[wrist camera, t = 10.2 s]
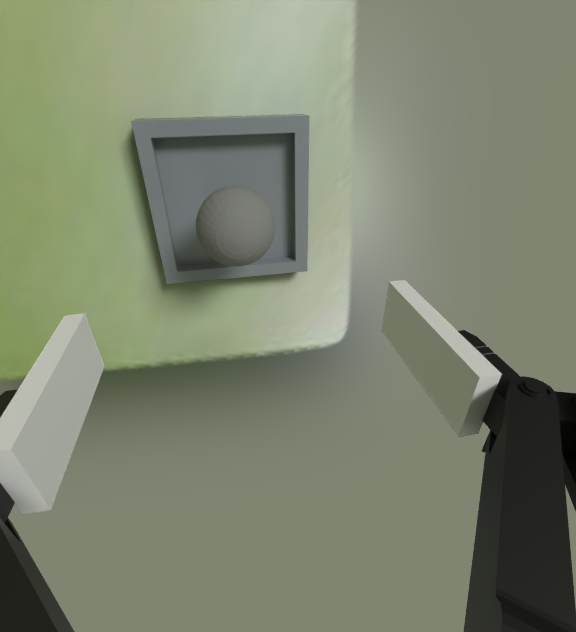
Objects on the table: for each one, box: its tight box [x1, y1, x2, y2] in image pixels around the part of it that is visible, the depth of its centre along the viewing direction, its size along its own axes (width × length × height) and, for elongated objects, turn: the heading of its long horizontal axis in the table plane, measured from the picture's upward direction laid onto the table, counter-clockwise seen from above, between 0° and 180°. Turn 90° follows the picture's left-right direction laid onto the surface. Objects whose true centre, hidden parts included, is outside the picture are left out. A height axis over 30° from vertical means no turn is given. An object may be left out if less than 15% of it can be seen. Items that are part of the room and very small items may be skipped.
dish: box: [131, 114, 309, 284], centre depth 33 cm, size 14×14×2 cm
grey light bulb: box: [196, 186, 275, 266], centre depth 29 cm, size 6×6×10 cm
